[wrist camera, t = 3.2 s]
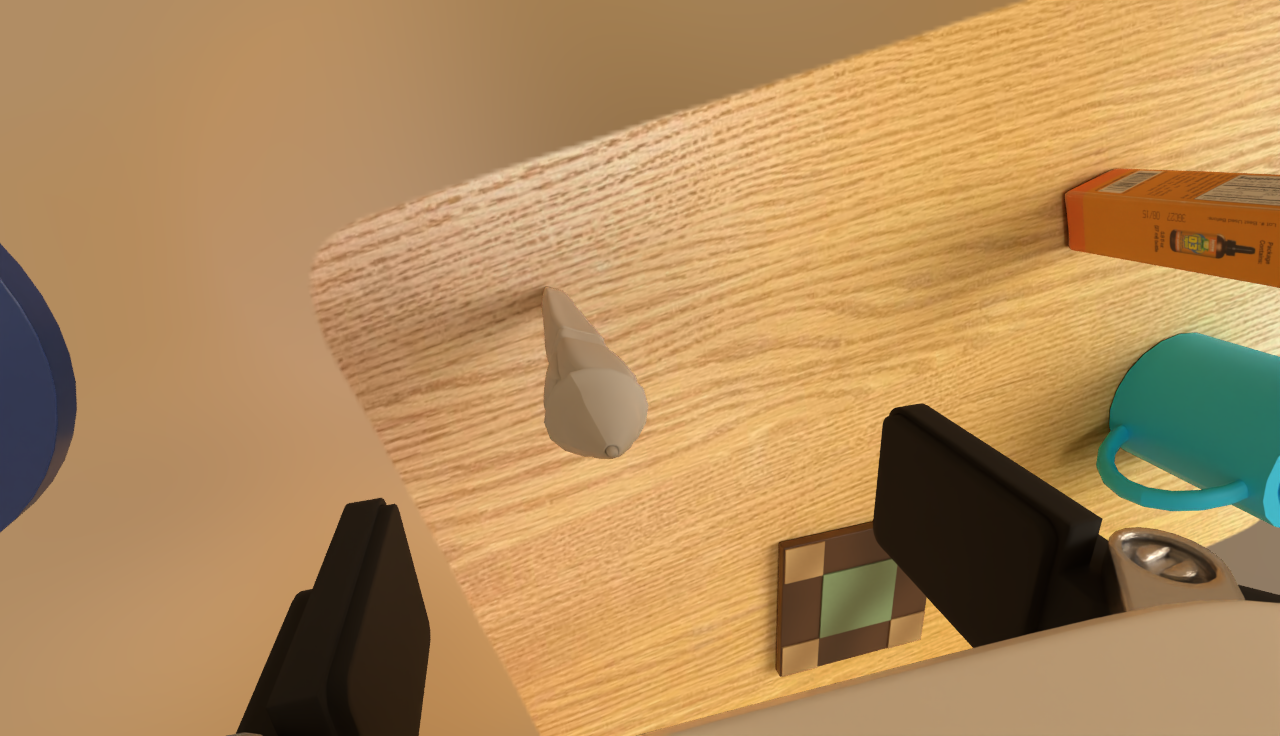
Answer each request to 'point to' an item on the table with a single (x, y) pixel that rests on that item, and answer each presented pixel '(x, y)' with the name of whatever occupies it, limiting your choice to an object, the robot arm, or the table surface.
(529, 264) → the table surface
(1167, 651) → the robot arm
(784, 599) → the board
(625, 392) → the beige tapered rod
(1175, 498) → the mug
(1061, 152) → the table surface
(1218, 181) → the supplement box
